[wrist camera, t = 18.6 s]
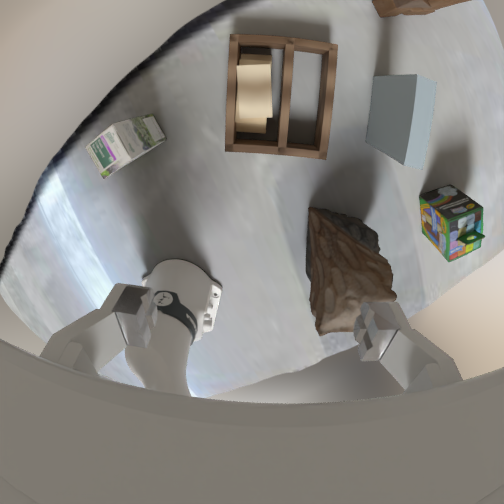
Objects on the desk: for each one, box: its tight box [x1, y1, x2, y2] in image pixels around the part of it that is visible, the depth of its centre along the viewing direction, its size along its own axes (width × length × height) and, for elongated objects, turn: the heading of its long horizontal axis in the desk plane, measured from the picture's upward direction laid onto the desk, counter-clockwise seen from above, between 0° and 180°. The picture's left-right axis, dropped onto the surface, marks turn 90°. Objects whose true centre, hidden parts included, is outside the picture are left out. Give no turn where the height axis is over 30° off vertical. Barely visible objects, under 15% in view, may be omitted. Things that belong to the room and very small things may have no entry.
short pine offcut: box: [237, 64, 272, 119], centre depth 34 cm, size 8×5×2 cm, turn 3°
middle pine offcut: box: [235, 59, 272, 124], centre depth 35 cm, size 10×5×2 cm, turn 176°
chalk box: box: [419, 185, 485, 262], centre depth 40 cm, size 9×9×15 cm
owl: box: [306, 207, 397, 336], centre depth 44 cm, size 13×13×20 cm
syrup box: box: [85, 114, 166, 179], centre depth 36 cm, size 6×6×14 cm
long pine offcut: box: [236, 54, 272, 133], centre depth 37 cm, size 13×5×2 cm, turn 176°
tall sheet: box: [365, 74, 437, 170], centre depth 31 cm, size 12×3×15 cm, turn 177°
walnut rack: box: [225, 34, 338, 160], centre depth 36 cm, size 18×15×5 cm
